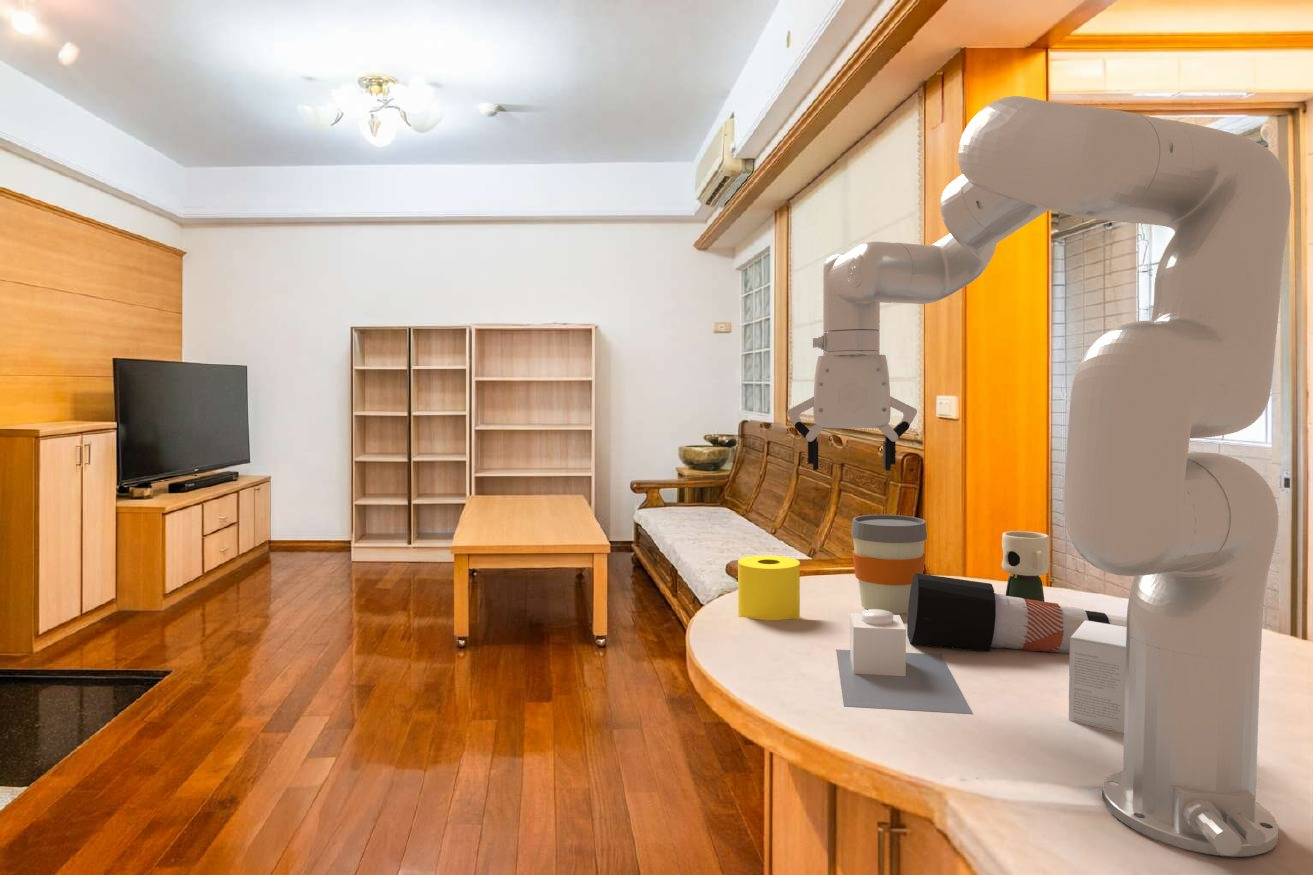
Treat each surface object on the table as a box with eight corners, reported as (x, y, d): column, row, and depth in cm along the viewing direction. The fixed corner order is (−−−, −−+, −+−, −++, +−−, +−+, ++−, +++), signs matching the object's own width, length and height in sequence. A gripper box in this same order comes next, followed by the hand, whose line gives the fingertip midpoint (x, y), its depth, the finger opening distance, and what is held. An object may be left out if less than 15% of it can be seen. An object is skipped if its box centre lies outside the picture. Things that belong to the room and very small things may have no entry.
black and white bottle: (1174, 701, 104) (1200, 647, 99) (908, 659, 111) (919, 606, 106) (1152, 646, 113) (1175, 593, 107) (906, 609, 120) (916, 558, 115)
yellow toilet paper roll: (785, 631, 122) (785, 571, 121) (728, 621, 127) (727, 564, 127) (808, 615, 130) (808, 559, 130) (753, 607, 136) (753, 553, 135)
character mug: (988, 603, 136) (989, 529, 136) (1029, 602, 137) (1030, 528, 136) (1019, 621, 126) (1020, 540, 125) (1063, 620, 126) (1064, 540, 125)
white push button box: (905, 676, 99) (905, 621, 98) (853, 673, 100) (853, 619, 100) (899, 658, 105) (899, 607, 105) (850, 656, 106) (850, 605, 106)
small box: (1082, 707, 92) (1083, 618, 91) (1137, 719, 88) (1140, 627, 87) (1066, 730, 85) (1068, 636, 85) (1125, 745, 82) (1127, 646, 81)
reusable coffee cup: (844, 596, 142) (844, 514, 141) (914, 596, 141) (915, 514, 140) (859, 616, 129) (859, 526, 128) (936, 616, 129) (937, 526, 128)
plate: (972, 724, 87) (973, 713, 87) (843, 716, 90) (843, 705, 90) (941, 662, 107) (941, 654, 107) (836, 657, 109) (836, 649, 109)
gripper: (786, 345, 105) (787, 472, 106) (921, 342, 102) (920, 473, 103) (787, 348, 113) (788, 466, 114) (913, 345, 110) (912, 467, 111)
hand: (850, 469), depth 108 cm, fingers open, 9 cm apart
